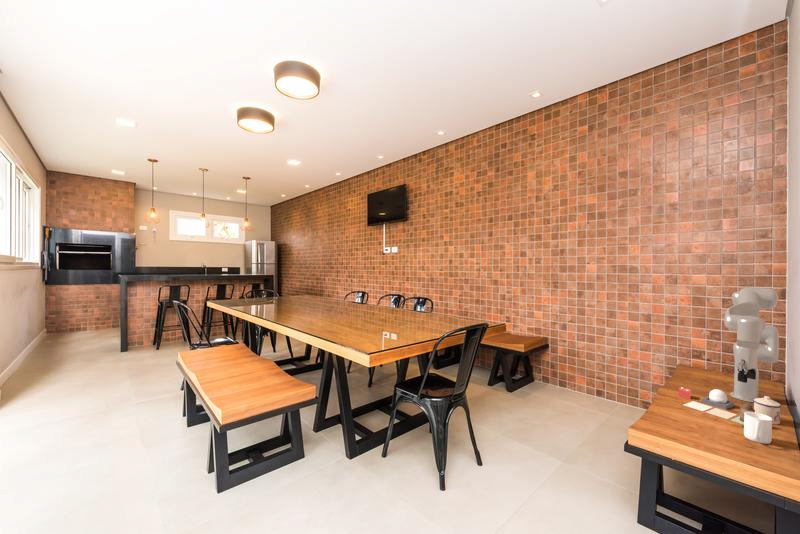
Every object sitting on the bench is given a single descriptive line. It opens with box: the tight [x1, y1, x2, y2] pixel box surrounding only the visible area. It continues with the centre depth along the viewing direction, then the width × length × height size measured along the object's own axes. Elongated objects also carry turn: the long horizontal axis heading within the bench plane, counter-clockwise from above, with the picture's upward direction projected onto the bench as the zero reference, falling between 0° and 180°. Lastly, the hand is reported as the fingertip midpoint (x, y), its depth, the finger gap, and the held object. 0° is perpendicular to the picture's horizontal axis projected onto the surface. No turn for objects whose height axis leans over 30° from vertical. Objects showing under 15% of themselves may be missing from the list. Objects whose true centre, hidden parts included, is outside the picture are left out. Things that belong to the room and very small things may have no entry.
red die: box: [678, 386, 692, 400], centre depth 192 cm, size 5×5×6 cm
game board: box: [683, 400, 744, 428], centre depth 171 cm, size 13×30×1 cm, turn 27°
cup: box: [743, 412, 773, 445], centre depth 147 cm, size 8×12×10 cm
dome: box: [708, 388, 728, 404], centre depth 182 cm, size 7×7×7 cm
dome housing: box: [701, 395, 736, 410], centre depth 182 cm, size 10×10×3 cm
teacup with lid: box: [753, 395, 782, 426], centre depth 167 cm, size 12×9×12 cm
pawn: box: [739, 402, 755, 422], centre depth 162 cm, size 5×5×9 cm
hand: (746, 380), depth 163 cm, fingers open, 9 cm apart
